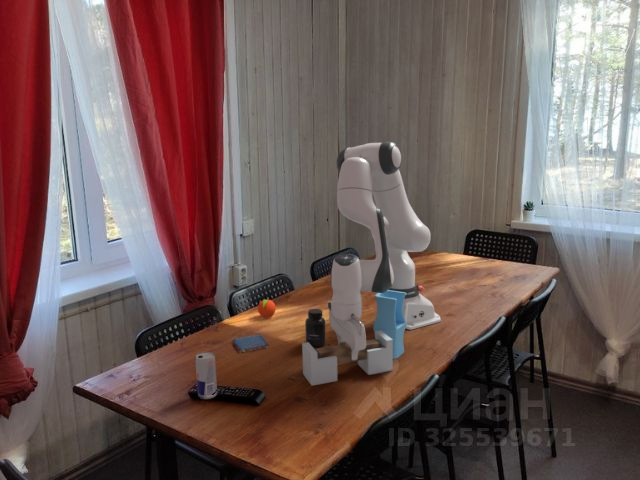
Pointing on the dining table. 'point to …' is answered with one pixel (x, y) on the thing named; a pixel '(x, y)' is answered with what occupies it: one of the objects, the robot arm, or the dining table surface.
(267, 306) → the clementine
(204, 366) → the energy drink
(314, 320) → the supplement bottle
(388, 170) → the robot arm
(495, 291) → the dining table surface
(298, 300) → the dining table surface
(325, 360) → the post
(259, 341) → the woven mat
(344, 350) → the rail
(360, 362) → the post
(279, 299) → the dining table surface
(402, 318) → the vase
